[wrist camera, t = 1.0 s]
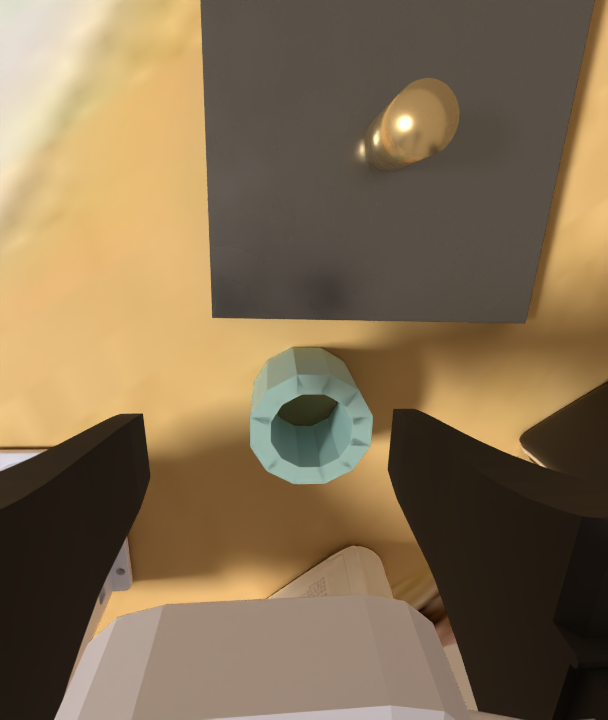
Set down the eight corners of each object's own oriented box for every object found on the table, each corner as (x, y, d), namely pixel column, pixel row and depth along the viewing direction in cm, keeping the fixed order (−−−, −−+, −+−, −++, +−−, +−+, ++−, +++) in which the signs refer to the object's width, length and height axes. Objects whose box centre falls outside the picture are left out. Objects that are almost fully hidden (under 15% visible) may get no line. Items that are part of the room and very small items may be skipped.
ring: (350, 439, 23) (366, 483, 19) (254, 440, 22) (250, 484, 18) (358, 348, 21) (377, 375, 17) (253, 346, 20) (249, 374, 17)
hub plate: (508, 316, 21) (586, 347, 16) (216, 311, 20) (196, 342, 15) (581, -49, 16) (726, -177, 11) (203, -86, 15) (166, -250, 10)
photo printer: (272, 650, 27) (273, 966, 16) (230, 616, 26) (197, 932, 15) (395, 570, 26) (495, 852, 14) (356, 530, 25) (432, 804, 13)
